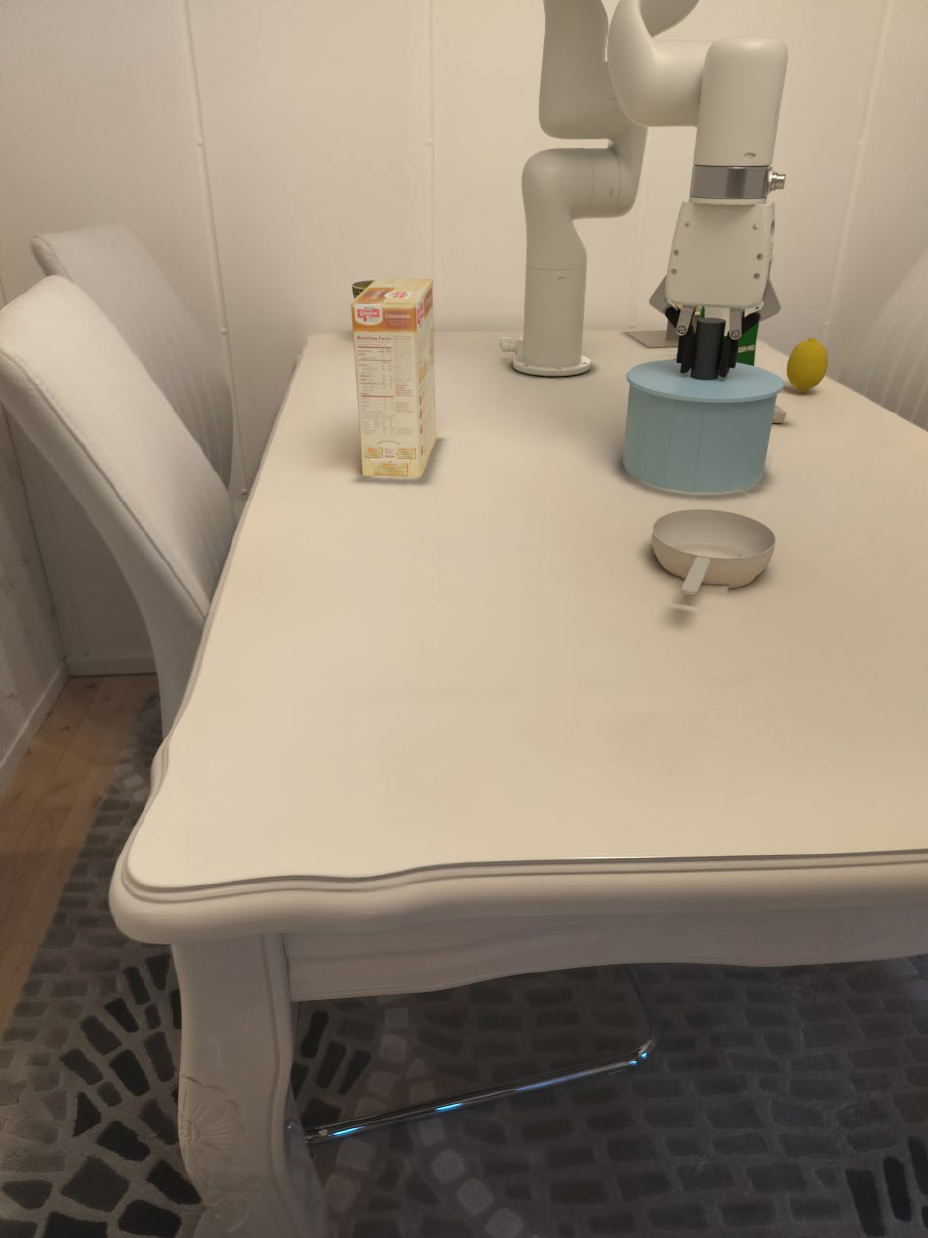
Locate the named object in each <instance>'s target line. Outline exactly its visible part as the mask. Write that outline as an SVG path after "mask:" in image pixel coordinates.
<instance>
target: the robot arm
mask: <svg viewBox="0 0 928 1238" xmlns="http://www.w3.org/2000/svg"><path fill="white" fill-rule="evenodd" d="M542 2H543V12H544V37H543V46H542V47H543V48H542V60H541V69H540V71H541V72H540V82H539V93H538V94H539V95H538V96H539V97H538V121H539V122H538V123H539V125H540V128H541V130H542V132H543V133H544V134H545V135H547V136H549V137H551V138H553V139H560V140H577V141H578V140H581V141H582V140H607V146H606V147H604V148H603V147H599V148H597V147H595V148H593V147H592V148H587V147H586V148H585V147H557V148H548V149H543V150H540V151H538V152H536V153H534V154H533V155H531V156H530V157H529V158H528V159H527V161H526V162H525V164H524V166H523V169H522V172H521V173H522V174H521V195H522V201H523V202H522V203H523V211H524V222H525V224H524V225H525V261H524V262H525V273H524V274H525V275H524V277H525V278H524V302H523V303H524V305H523V335H522V336H519V337H518V338H513V337H506V336H505V337H504V336H502V337H501V338H500V340H499V348H500V350H501V351H502V352H506V353H510V352H512V353H515V355H516V356H515V357H514V358H513V360H512V367H513V368H514V370H516V371H518V372H521V373H523V374H527V375H533V376H540V377H569V376H575V375H576V376H577V375H580V374H583V373H586V372H588V371H590V369H591V364H592V363H591V362H592V361H591V360H590V358H588V357H587V356H585V355H582V354H583V339H584V338H583V337H584V323H585V307H586V305H585V304H586V291H587V290H586V289H587V275H588V274H587V273H588V249H587V245H586V243H585V241H584V239H583V237H582V236H581V234H580V233H579V231H578V230H577V227H575V223H574V222H575V221H582V220H606V219H617V218H622V217H624V216H626V215H628V214H629V213H630V212H631V210H632V209H633V207H634V206H635V203H636V201H637V197H638V194H639V189H640V184H641V178H642V172H643V166H644V158H645V153H646V148H647V141H648V135H649V130H650V129H649V128H672V127H673V128H674V127H677V128H678V127H680V128H681V127H687V128H689V127H693V128H696V134H695V143H694V149H693V150H694V151H693V159H692V161H693V162H692V169H691V180H690V187H689V196H688V198H687V199H683V200H682V202H681V205H680V207H679V212H678V214H677V219H676V222H675V227H674V231H673V235H672V242H671V247H670V252H669V258H668V264H667V270H666V275H664V277H663V279H662V280H661V282H660V283H659V285H658V286H657V287H656V289H655V290H654V292H653V294H652V295H651V296H650V298H649V299H648V303H649V305H650V306H651V307H653V308H654V309H655V310H656V311H658V312H659V313H661V314H662V315H663V314H664V315H663V316H664V317H665V318H666V319H667V321H668V320H669V321H670V323H671V324H672V325H673V326H674V328H675V329H676V332H677V334H679V341H678V346H677V350H676V351H677V352H676V358H675V359H676V363H681V370H680V373H684V374H685V373H686V372H688V371H689V370H690V369H691V365H692V357H693V349H694V341H695V333H694V332H695V331H693V330H694V326H693V325H692V324H693V320H694V316H695V313H696V309H697V306H705V307H719V308H729V331H728V332H727V336H726V338H725V339H724V341H723V348H722V355H721V362H720V369H719V376H720V377H726V376H727V374H728V373H729V370H730V368H735V366H736V362H737V355H738V349H739V342H740V337H741V336H742V335H743V334H745V333H746V332H747V331H748V330H749V329H751V328H752V327H753V326H754V325H756V324H757V323H759V324H760V323H761V322H763V321H765V320H767V319H769V318H771V317H774V316H776V315H777V314H779V313H780V311H781V309H782V305H781V303H780V300H779V298H778V296H777V293H776V291H775V288H774V285H773V284H772V283H773V282H772V281H771V272H772V271H771V270H772V266H771V263H772V254H773V253H774V244H775V243H774V242H775V230H776V229H775V228H776V206H775V202H774V201H770V200H768V196H769V194H770V193H772V191H773V192H774V191H776V190H784V188H785V185H786V178H787V175H786V174H787V173H786V174H785V173H779V172H776V171H775V170H773V168H774V167H773V160H774V153H775V147H776V141H777V140H776V139H777V134H778V127H779V121H780V114H781V107H782V102H783V101H782V100H783V94H784V88H785V87H784V86H785V83H786V81H785V80H786V75H787V70H788V69H787V68H788V61H789V51H788V46H787V45H786V43H785V41H783V40H781V39H780V38H777V37H773V36H772V37H771V36H735V37H734V36H732V37H726V38H721V39H719V40H709V39H708V40H706V39H657V38H656V39H655V37H658V36H659V35H662V34H663V33H665V32H668V31H669V30H672V29H673V28H676V26H678V25H679V24H680V23H682V22H683V21H684V20H685V19H686V18H687V17H688V16H689V15H690V14H691V13H692V12H693V11H694V10H695V9H696V7H697V5H698V3H700V0H619V1H618V3H617V5H616V7H615V10H614V11H613V14H612V17H611V21H610V24H609V17H608V13H607V11H606V8H605V6H604V3H603V1H602V0H542ZM772 264H773V263H772ZM762 300H763V302H762V303H763V304H762V307H761V308H759V309H757V310H755V311H752V312H751V313H750V314H748V315H747V316H746V317H745V309H748V308H753V307H756V306H757V305H759V304H760V303H761V301H762ZM671 302H673V303H676V304H681V305H682V308H681V310H680V309H679V308H678V306H676V305H674V304H672V303H671Z"/></svg>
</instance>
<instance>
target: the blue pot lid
mask: <svg viewBox="0 0 928 1238" xmlns="http://www.w3.org/2000/svg"><path fill="white" fill-rule="evenodd" d="M725 326H726V320H724V319H720V318H699V319H697V325H696V333H695V341H694V349H693V357H692V365H691V369H690V370H689V371H688V372H686V373H685V374H684V373H680V370H681V363H676V359H677V358H670V359H661V360H659V359H658V360H653V361H648V362H643V363H639V364H637V365H635V366H633V367H631V368H630V369H629V370H628V371H627V373H626V381H627V382H628V384H629V385H630V384H631V385H632V386H633V387H635V388H637V389H639V390H641V391H644V392H647V393H650V394H653V395H657V396H661V397H666V398H671V399H677V400H684V401H693V402H706V403H737V402H749V401H756V400H762V399H766V398H769V397H772V396H775V395H777V396H778V395H779V394H780V393H782V391H783V389H784V383H785V382H784V380H783V378H782V377H781V376H779V374H776V373H774V372H772V371H770V370H768V369H765V368H762V367H759V366H755V365H754V366H751V365H747V364H742V363H736V366H735V368H730V370H729V373H728V374H727V376H726V377H720V376H719V369H720V362H721V354H722V347H723V340H724V333H725Z"/></svg>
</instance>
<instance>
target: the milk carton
mask: <svg viewBox="0 0 928 1238" xmlns="http://www.w3.org/2000/svg"><path fill="white" fill-rule="evenodd" d="M775 257H776V253H775V252H773V254H772V263H771V267H772V266H773V263H774V260H775ZM763 303H764V302H763V300H762V301H761V303H760V304H759V305H757V306H756V307H753V308H748V309H745V317H746V316H747V315H748V314H750V313H751V312H752V311H755V310H757V309H759V308H761V307H762V306H763ZM699 318H720V319H724V320H726V326H725V333H724V339H725V338H726V336H727V332H728V331H729V308H719V307H705V306H701V309H700V317H699ZM759 327H760V322H759V323H757V324H756V325H754V326H753V327H752V328H751V329H749V330H748V331H747V332H746V333H745V334H743V335H742V336H741V337H740V342H739V349H738V355H737V362H736V363H742V364H747V365H751V366H755V360H756V349H757V340H758V334H759ZM723 341H724V340H723ZM722 348H723V347H722ZM721 355H722V354H721Z"/></svg>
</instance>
